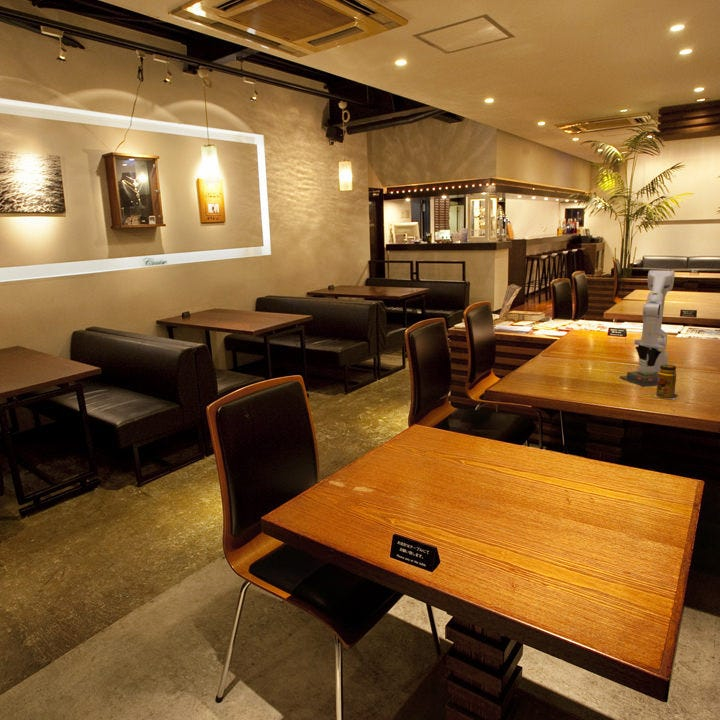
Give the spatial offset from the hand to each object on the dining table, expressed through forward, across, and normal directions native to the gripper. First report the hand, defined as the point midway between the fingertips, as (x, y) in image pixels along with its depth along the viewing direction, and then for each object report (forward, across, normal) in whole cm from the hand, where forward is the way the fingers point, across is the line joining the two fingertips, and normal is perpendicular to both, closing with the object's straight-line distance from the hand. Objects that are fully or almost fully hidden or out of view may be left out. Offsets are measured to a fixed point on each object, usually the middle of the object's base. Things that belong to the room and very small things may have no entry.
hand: (646, 364), depth 227 cm
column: (+4, 0, 0) cm, 4 cm away
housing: (+7, 0, 0) cm, 7 cm away
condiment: (+7, +19, -7) cm, 22 cm away
